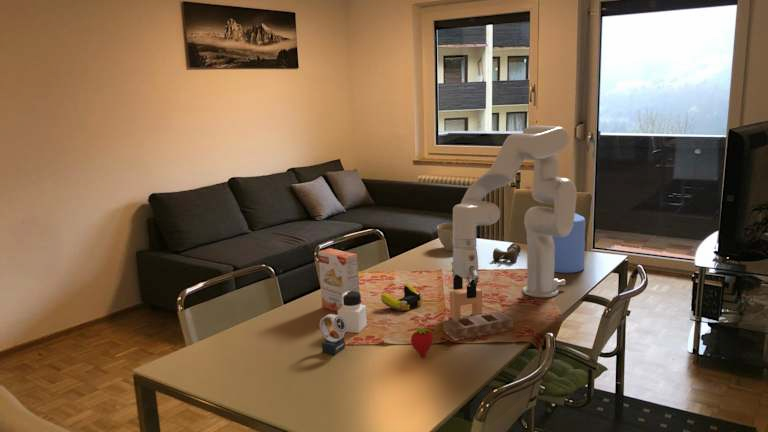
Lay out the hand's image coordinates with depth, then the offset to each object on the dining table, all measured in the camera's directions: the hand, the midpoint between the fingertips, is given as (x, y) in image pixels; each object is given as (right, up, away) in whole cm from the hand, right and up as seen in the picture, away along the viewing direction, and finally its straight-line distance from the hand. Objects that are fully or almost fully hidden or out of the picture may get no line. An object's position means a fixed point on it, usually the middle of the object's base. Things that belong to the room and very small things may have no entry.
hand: (464, 293), depth 203 cm
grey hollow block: (+3, -10, -10) cm, 15 cm away
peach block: (+1, -8, +2) cm, 8 cm away
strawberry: (-15, -15, -26) cm, 34 cm away
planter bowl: (+7, +10, +86) cm, 87 cm away
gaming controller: (-19, -7, +15) cm, 25 cm away
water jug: (+47, +4, +50) cm, 69 cm away
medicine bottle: (-36, -11, -3) cm, 38 cm away
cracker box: (-41, -8, +14) cm, 44 cm away
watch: (-41, -15, -19) cm, 48 cm away
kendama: (+27, +6, +66) cm, 72 cm away
